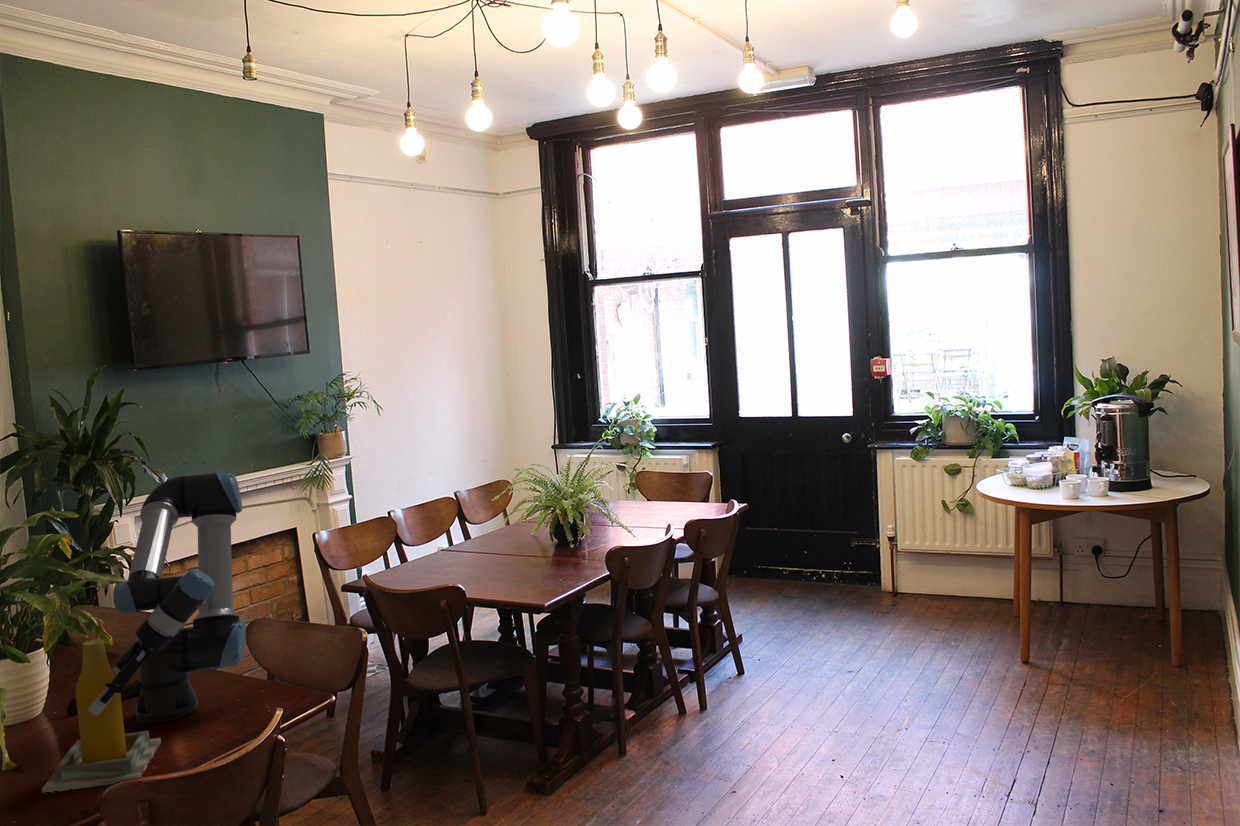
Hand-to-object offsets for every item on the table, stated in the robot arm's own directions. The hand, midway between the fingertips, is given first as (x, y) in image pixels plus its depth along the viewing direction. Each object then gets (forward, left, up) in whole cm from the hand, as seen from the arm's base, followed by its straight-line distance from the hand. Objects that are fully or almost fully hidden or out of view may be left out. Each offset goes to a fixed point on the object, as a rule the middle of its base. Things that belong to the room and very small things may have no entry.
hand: (96, 702), depth 222 cm
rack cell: (0, 0, -16) cm, 16 cm away
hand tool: (-42, -11, -17) cm, 47 cm away
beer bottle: (0, 0, -15) cm, 15 cm away
